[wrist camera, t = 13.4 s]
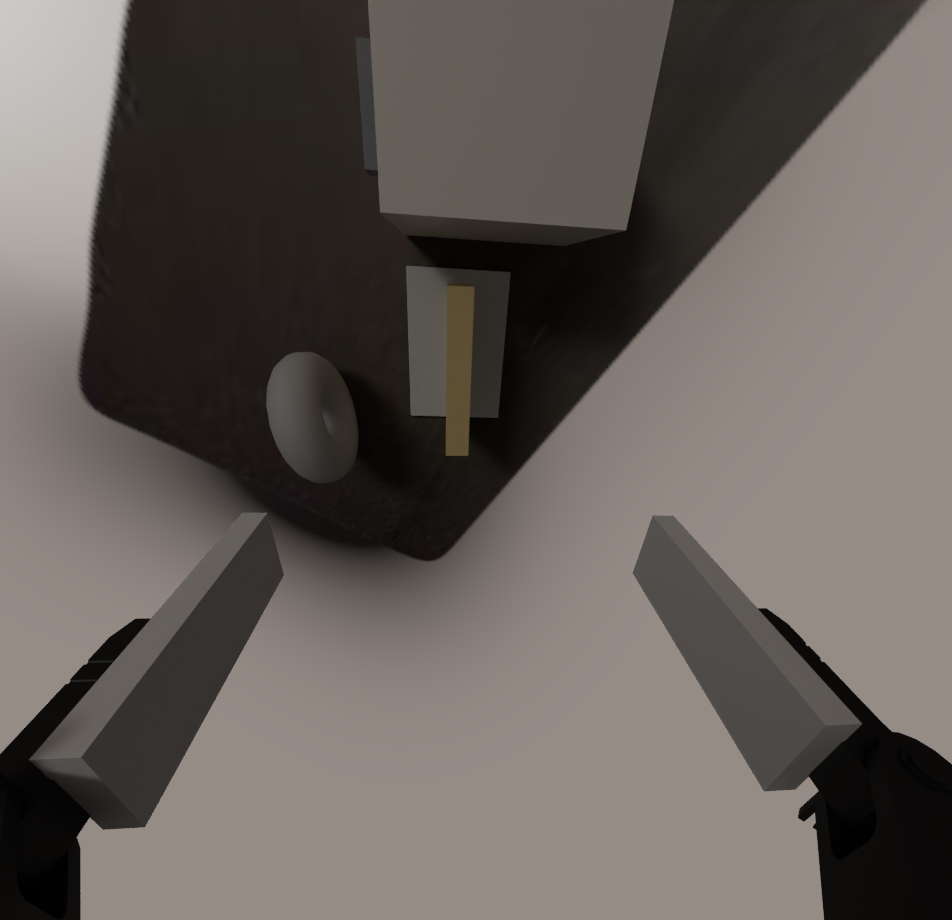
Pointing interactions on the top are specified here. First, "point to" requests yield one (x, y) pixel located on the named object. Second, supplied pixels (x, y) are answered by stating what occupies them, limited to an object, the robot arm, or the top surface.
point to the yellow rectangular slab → (458, 367)
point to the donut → (312, 417)
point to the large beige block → (509, 114)
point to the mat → (432, 337)
